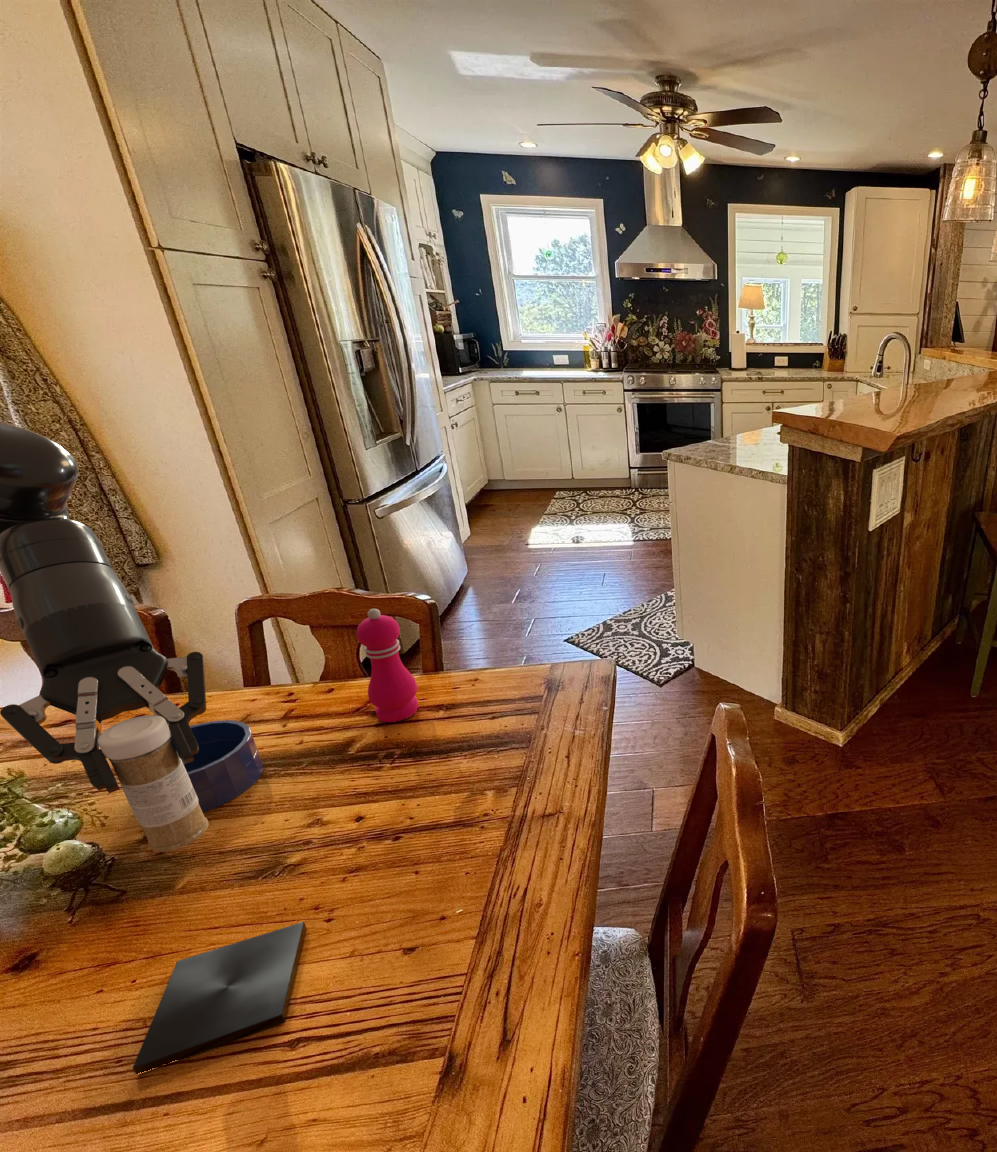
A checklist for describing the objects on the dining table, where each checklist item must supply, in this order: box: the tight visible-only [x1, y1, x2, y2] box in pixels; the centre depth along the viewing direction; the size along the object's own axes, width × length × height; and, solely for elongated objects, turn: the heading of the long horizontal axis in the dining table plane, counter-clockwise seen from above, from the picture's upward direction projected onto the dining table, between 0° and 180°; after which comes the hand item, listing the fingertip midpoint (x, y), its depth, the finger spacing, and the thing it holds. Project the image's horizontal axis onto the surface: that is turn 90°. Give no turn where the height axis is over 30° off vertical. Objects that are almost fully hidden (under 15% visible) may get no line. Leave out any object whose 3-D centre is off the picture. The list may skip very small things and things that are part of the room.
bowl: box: [172, 719, 264, 813], centre depth 88 cm, size 13×13×6 cm
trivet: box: [132, 921, 308, 1075], centre depth 62 cm, size 11×11×1 cm
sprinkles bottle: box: [98, 714, 210, 853], centre depth 59 cm, size 5×5×13 cm
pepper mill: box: [356, 608, 419, 723], centre depth 102 cm, size 7×7×20 cm
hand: (151, 774), depth 57 cm, fingers closed on sprinkles bottle, 4 cm apart
